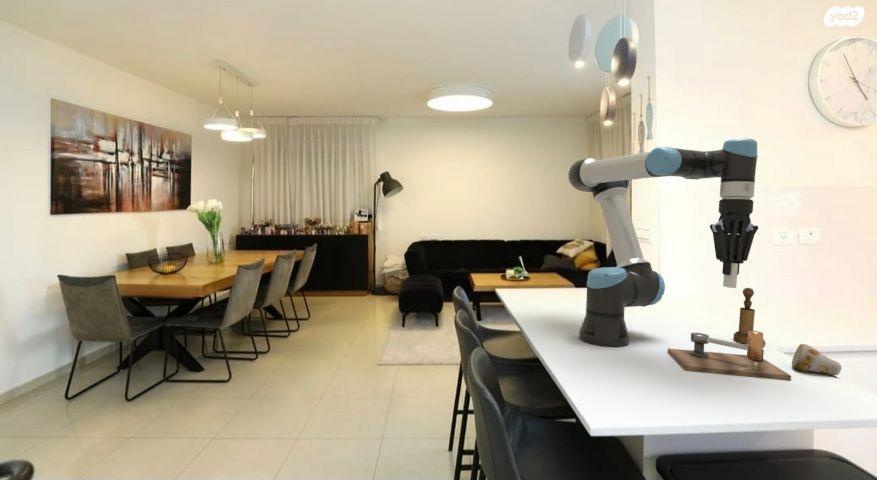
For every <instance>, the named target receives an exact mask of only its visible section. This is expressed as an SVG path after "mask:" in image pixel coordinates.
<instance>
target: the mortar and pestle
mask: <svg viewBox="0 0 877 480" xmlns="http://www.w3.org/2000/svg"><path fill="white" fill-rule="evenodd" d="M742 294H743V296H744V298H745V299H744V300H743V306H744V307H740V308H739V321H738V331H736V332H734V333H733V336H732V337H733V341H734V342H735V341H736V342H735V343H738V342H740V344H742V343H744V344H745V345H748V331H754V325H755V311H756V309H755V308H751V306H752V304H753V302H752V301H751V299H752V297H753V296H754V295H755V291H754V290H753V288H751V287H745V288H743V290H742Z"/></svg>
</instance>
